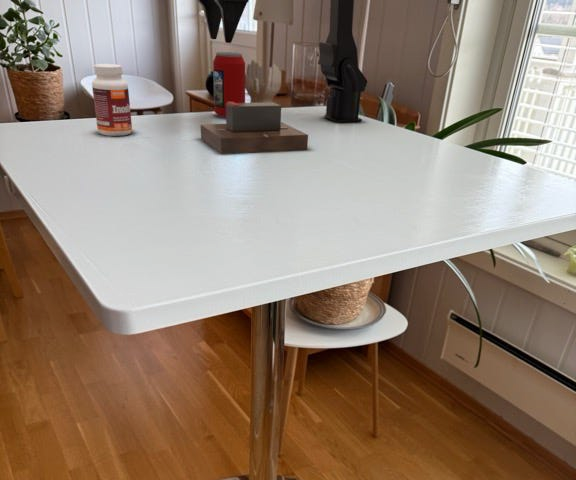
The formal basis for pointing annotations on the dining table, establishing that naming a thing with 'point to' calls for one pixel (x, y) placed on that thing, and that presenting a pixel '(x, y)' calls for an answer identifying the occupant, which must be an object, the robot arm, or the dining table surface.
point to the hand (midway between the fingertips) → (220, 40)
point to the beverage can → (228, 80)
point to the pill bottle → (111, 101)
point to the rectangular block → (253, 116)
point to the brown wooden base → (253, 139)
